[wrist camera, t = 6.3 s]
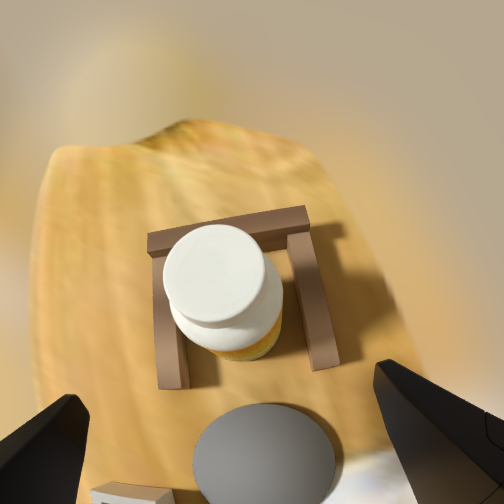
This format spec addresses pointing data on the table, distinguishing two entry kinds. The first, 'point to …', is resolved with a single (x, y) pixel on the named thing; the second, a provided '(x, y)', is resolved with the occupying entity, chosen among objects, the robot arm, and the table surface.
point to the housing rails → (268, 239)
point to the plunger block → (130, 494)
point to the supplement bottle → (224, 292)
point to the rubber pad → (264, 457)
